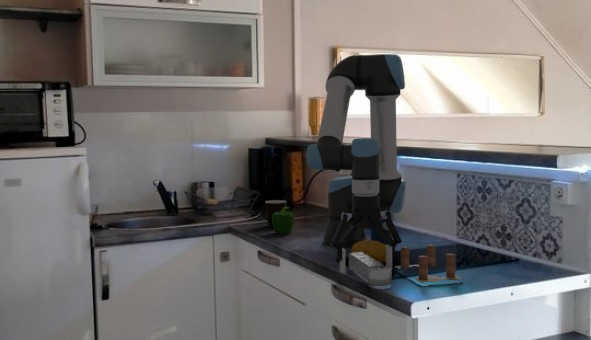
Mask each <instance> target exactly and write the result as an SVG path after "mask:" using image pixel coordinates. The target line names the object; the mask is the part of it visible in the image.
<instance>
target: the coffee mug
mask: <svg viewBox="0 0 591 340" xmlns="http://www.w3.org/2000/svg"><path fill="white" fill-rule="evenodd" d="M264 204H265V206H262V207H261V209H260V214H261V217H262V218H264V219H265V220H267V225H268V228H272V229H274V227H273V223H272V215H273V213H275V212H281V213H282V209H283V208H284V207H287V201H286V200H284V199H283V200H281V199H280V200H279V199H278V200H277V199H274V200H273V199H272V200H265V202H264ZM264 209H266V210H265V211H266V216H265V215H264V214H263V210H264ZM286 210H287V209H285V211H286ZM285 211H284V212H285Z"/></svg>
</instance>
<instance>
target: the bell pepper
mask: <svg viewBox="0 0 591 340" xmlns="http://www.w3.org/2000/svg"><path fill="white" fill-rule="evenodd" d="M285 209H286V210H289V209H290V206H286V207H284V208H283V209H282V213H281V212H275V213H273V215H272V223H273V227H274V228H273V230H274V233H275V234H280V235H286V234H287V235H288V234H289V233H291V231H292V229H293V225H294V220H295V219H294V216H295V215H294V213H293V211H285ZM284 211H285V212H284Z"/></svg>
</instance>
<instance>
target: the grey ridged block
mask: <svg viewBox="0 0 591 340" xmlns="http://www.w3.org/2000/svg"><path fill="white" fill-rule="evenodd" d="M349 267H350V268H351V269H352V270H354V271H355V272H356V273H358V274H359V275H361V276H362V277H363V278H365V279H366V280H368V282H369V284H368V286H369V285H370V286H386V285H390V284H391V283H393V281H392V270H393V267H392V268H391V267H389V266H386V265H384V264H383V263H379V262H377V261H376V260H374V259H372V258H371V257H369V256H368V255H366V254H364V253H363V252H355V253H352V252H348V268H349Z"/></svg>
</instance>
